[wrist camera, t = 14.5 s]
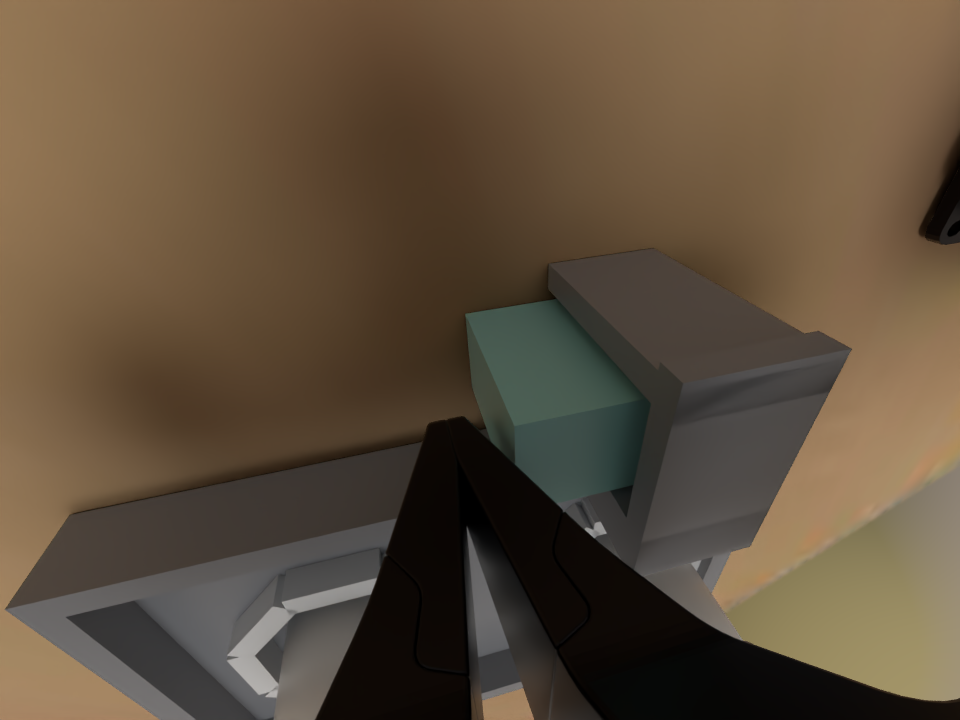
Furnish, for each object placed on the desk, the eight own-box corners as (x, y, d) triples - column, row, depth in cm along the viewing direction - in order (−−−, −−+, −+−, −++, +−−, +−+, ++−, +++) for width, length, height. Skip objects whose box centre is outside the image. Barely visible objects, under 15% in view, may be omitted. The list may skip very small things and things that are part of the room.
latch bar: (669, 280, 12) (802, 365, 8) (654, 353, 13) (763, 453, 10) (465, 313, 11) (514, 426, 7) (471, 388, 13) (516, 512, 9)
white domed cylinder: (421, 559, 15) (449, 798, 10) (440, 631, 18) (469, 841, 13) (258, 599, 14) (199, 883, 9) (307, 668, 17) (283, 908, 12)
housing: (783, 222, 12) (1044, 309, 7) (660, 585, 23) (734, 710, 18) (-92, 351, 9) (-596, 645, 4) (252, 700, 20) (218, 887, 15)
